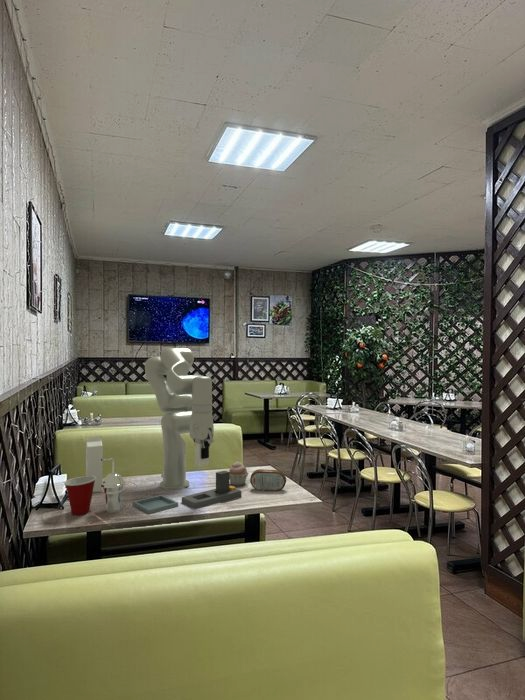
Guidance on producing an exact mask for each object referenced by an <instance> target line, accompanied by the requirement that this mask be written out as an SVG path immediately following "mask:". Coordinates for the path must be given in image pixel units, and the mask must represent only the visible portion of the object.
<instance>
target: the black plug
mask: <svg viewBox="0 0 525 700" xmlns="http://www.w3.org/2000/svg"><path fill="white" fill-rule="evenodd" d="M229 486H230V479H229V470H221V471H218V472H217V471H216V472H215V489H216V493H218V494H223V493H227V492H229Z"/></svg>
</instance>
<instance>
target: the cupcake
mask: <svg viewBox="0 0 525 700" xmlns="http://www.w3.org/2000/svg"><path fill="white" fill-rule="evenodd" d="M228 472H229V485H230V486H234V487H241V486H244V485H245V484H246V482H247V481H246V480H247V478H248V476H249V474H250V473H249V472H248V470H247V468H246V466H245V465H244V464H243V463H241V462H240V461H239V460H237V461H235V462H234V463H233V464H232V465H231V466H230V468H229V470H228Z"/></svg>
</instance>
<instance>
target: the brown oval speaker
mask: <svg viewBox="0 0 525 700" xmlns="http://www.w3.org/2000/svg"><path fill="white" fill-rule="evenodd" d="M249 481H250V482H249V483H250V485H251V487H252V488H254V489H255V490H257V491H263V490H264V492H265V491H266V492H269V491H270V492H280V491H281V490H283V489H284V488H285V487H286V485H287V484H286V483H287V476H286V474H285V473H284V472H283V471H281V470H279V469H264V468H263V469H261V468H259V469H255V470H254V471H253V472H251V475H250V479H249Z"/></svg>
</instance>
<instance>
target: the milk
mask: <svg viewBox="0 0 525 700" xmlns="http://www.w3.org/2000/svg"><path fill="white" fill-rule="evenodd" d="M103 446H104V445H103V438H102V436H92V437H91V436H90V437H86V442H85V476H94V477H96V480H95V482H94V487H93V493H99V492H103V487H101V483H102V482H103V481H104V478H103V472H104V470H103V466H104V465H103V464H104V463H103V462H104V461H101V459H104V458H103V454H104V453H103V452H104V451H103V450H104V449H103V448H104V447H103Z"/></svg>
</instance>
